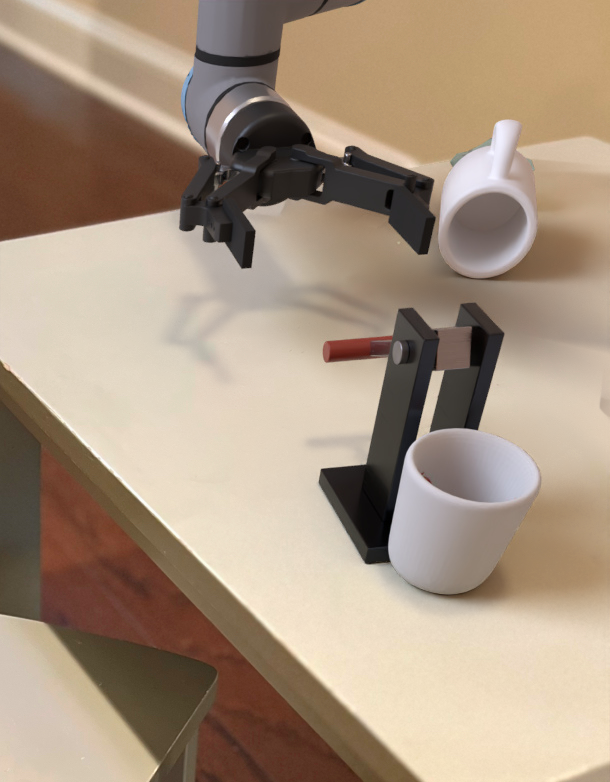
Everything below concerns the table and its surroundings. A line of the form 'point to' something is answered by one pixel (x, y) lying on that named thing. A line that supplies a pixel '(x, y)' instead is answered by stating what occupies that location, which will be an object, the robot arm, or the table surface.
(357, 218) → the table surface
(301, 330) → the table surface
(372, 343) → the lever
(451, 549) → the cup
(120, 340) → the table surface
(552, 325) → the table surface
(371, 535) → the bracket
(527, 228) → the mug
